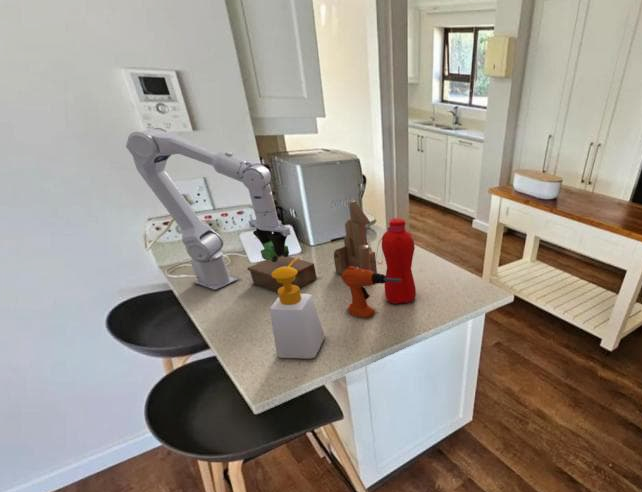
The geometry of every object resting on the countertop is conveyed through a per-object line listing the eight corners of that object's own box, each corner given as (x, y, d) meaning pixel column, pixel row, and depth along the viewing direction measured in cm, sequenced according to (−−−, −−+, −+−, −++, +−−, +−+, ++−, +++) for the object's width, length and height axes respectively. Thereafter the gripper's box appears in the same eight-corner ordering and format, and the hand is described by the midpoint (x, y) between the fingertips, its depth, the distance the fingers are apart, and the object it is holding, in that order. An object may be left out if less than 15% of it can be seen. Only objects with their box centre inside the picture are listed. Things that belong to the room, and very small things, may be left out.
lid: (282, 280, 110) (282, 278, 109) (247, 270, 114) (247, 267, 114) (314, 265, 120) (314, 263, 120) (281, 256, 125) (280, 254, 124)
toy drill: (403, 324, 100) (395, 274, 93) (346, 316, 106) (333, 269, 99) (411, 315, 104) (403, 266, 96) (355, 308, 110) (344, 262, 102)
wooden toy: (334, 272, 127) (323, 200, 113) (349, 266, 132) (340, 195, 118) (367, 285, 120) (359, 210, 107) (381, 278, 125) (375, 205, 111)
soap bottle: (331, 327, 100) (318, 252, 87) (315, 360, 88) (298, 278, 76) (295, 326, 99) (277, 250, 87) (275, 359, 88) (251, 277, 75)
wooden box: (287, 295, 113) (284, 281, 110) (253, 283, 118) (249, 270, 115) (316, 278, 123) (314, 265, 120) (284, 269, 127) (281, 256, 125)
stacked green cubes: (272, 263, 111) (268, 247, 108) (262, 260, 112) (258, 245, 110) (290, 255, 116) (286, 240, 113) (280, 252, 118) (276, 237, 115)
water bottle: (378, 291, 117) (372, 215, 104) (412, 289, 120) (411, 213, 106) (381, 306, 110) (374, 226, 96) (417, 303, 112) (416, 224, 99)
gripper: (294, 210, 107) (303, 253, 114) (258, 202, 111) (269, 244, 119) (274, 217, 101) (285, 261, 109) (238, 208, 106) (250, 251, 114)
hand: (275, 253), depth 113 cm, fingers closed on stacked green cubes, 4 cm apart
